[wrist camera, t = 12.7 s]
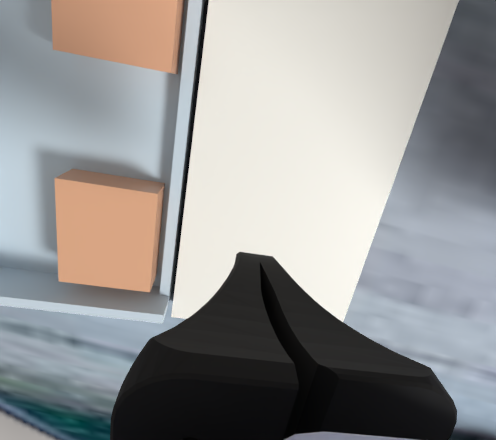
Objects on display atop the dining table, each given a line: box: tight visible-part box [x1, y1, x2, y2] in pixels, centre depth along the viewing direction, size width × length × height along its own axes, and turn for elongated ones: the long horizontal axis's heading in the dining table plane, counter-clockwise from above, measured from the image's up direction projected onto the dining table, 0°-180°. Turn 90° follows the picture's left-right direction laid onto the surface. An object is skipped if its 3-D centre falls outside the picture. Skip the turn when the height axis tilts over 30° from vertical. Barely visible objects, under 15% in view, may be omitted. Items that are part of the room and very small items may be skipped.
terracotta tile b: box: [55, 169, 165, 292], centre depth 18 cm, size 5×6×2 cm
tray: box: [0, 0, 205, 324], centre depth 16 cm, size 12×21×3 cm, turn 170°
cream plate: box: [171, 0, 459, 322], centre depth 18 cm, size 11×22×2 cm, turn 170°
